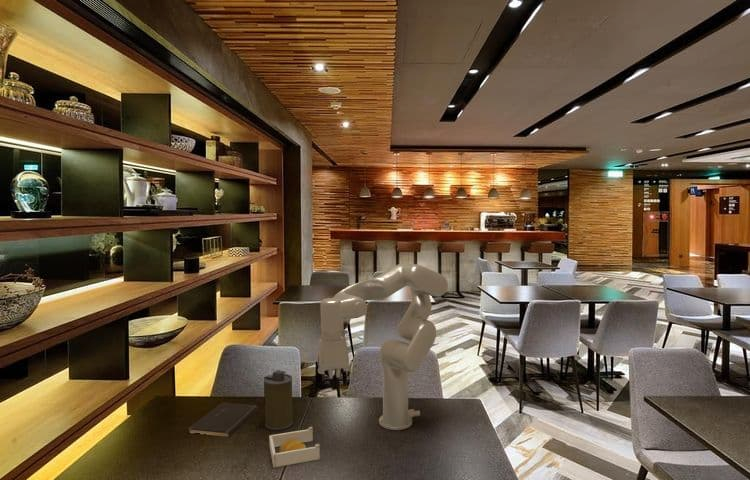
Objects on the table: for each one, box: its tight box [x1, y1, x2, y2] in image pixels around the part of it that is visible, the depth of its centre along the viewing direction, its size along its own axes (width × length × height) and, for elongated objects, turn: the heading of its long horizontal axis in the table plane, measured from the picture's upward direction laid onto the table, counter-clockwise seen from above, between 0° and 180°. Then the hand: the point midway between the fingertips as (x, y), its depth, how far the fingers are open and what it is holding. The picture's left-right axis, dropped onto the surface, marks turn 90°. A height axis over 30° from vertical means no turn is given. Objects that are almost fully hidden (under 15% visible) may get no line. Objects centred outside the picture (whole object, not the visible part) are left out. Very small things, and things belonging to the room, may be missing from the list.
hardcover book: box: [188, 402, 259, 438], centre depth 168 cm, size 16×23×2 cm
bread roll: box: [278, 439, 307, 453], centre depth 144 cm, size 8×9×4 cm
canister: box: [263, 369, 294, 431], centre depth 165 cm, size 11×10×20 cm
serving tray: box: [268, 426, 321, 468], centre depth 145 cm, size 15×14×5 cm
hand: (334, 388), depth 148 cm, fingers closed
